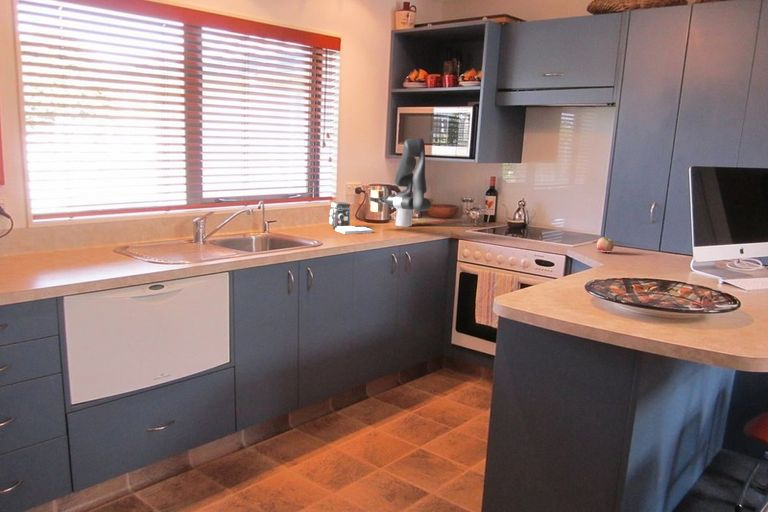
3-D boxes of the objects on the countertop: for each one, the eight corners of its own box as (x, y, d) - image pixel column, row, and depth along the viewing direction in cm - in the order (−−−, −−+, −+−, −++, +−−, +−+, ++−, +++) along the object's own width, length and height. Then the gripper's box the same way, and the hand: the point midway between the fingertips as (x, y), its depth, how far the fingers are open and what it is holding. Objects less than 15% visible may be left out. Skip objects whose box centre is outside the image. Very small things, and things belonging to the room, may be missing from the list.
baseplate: (363, 229, 356) (363, 225, 355) (373, 232, 346) (373, 228, 345) (335, 230, 347) (335, 226, 347) (344, 233, 337) (344, 229, 336)
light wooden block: (375, 210, 357) (376, 189, 355) (382, 211, 354) (383, 190, 352) (370, 211, 353) (371, 190, 351) (377, 212, 350) (378, 191, 348)
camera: (327, 227, 358) (327, 201, 355) (344, 226, 362) (344, 201, 360) (333, 230, 349) (334, 203, 346) (350, 229, 353) (351, 203, 350)
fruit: (606, 254, 309) (608, 239, 308) (592, 252, 316) (594, 236, 314) (615, 253, 314) (617, 238, 313) (602, 250, 320) (603, 235, 319)
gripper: (405, 194, 349) (381, 191, 359) (390, 195, 337) (365, 192, 347) (404, 207, 350) (380, 204, 360) (389, 209, 339) (365, 206, 349)
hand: (373, 198), depth 354 cm, fingers closed on light wooden block, 5 cm apart
